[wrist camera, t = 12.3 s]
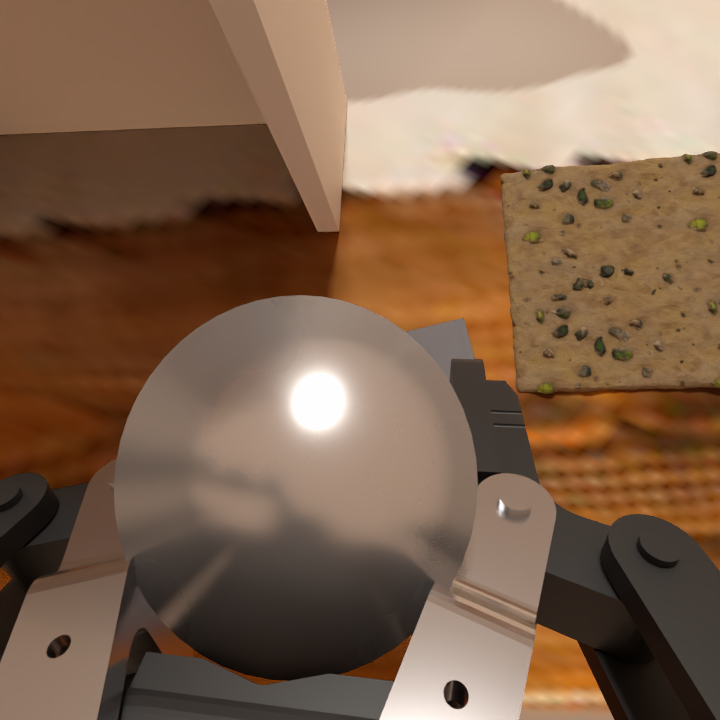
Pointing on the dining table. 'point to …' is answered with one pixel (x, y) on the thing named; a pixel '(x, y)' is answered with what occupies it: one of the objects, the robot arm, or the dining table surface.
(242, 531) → the pale cylinder
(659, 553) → the robot arm
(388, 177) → the dining table surface
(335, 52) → the white c-shaped side table
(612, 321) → the cookie
